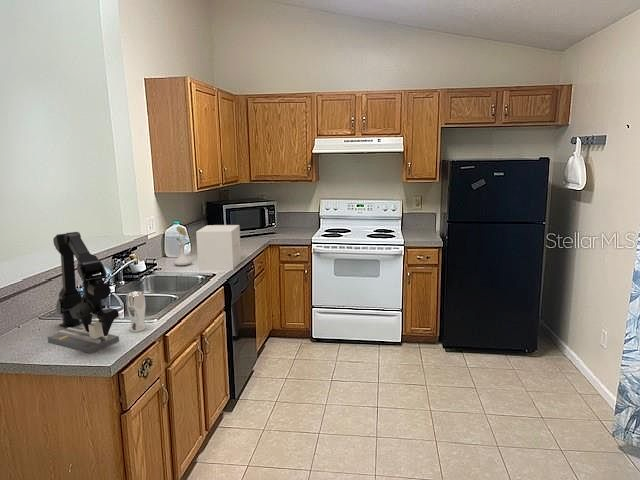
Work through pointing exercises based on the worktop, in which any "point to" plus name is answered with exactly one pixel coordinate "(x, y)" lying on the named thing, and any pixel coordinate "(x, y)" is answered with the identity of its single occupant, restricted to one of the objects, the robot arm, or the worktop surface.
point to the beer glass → (136, 310)
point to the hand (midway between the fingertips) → (97, 333)
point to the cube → (218, 247)
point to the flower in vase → (182, 250)
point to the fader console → (82, 340)
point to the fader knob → (95, 330)
